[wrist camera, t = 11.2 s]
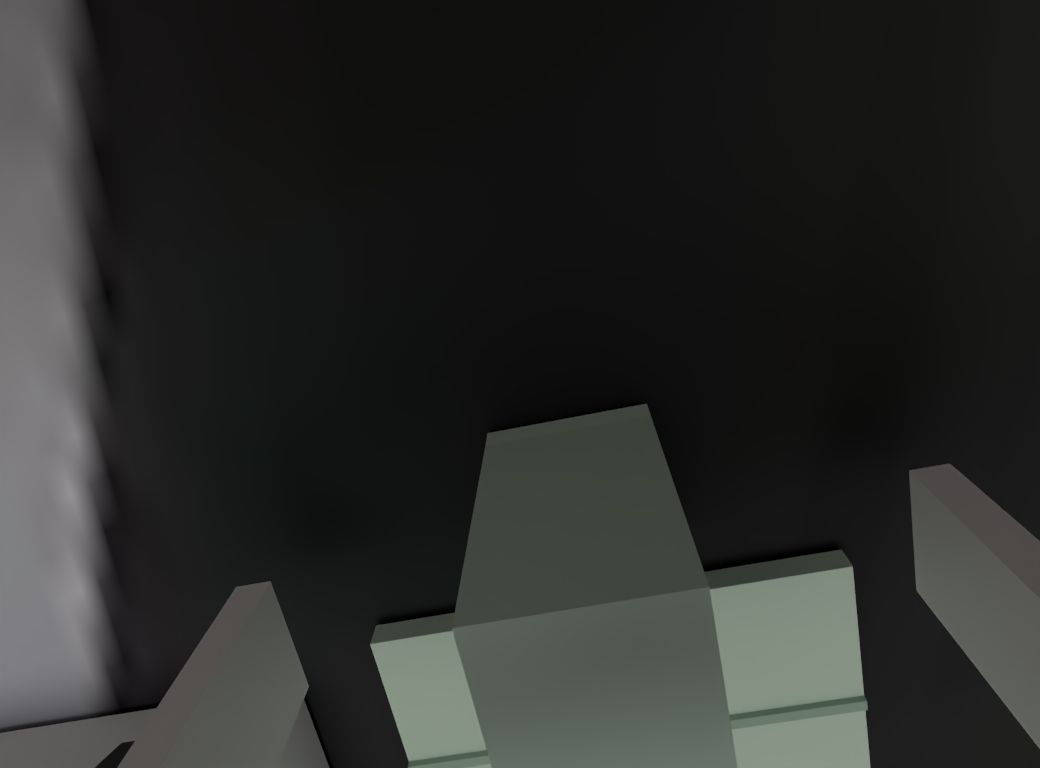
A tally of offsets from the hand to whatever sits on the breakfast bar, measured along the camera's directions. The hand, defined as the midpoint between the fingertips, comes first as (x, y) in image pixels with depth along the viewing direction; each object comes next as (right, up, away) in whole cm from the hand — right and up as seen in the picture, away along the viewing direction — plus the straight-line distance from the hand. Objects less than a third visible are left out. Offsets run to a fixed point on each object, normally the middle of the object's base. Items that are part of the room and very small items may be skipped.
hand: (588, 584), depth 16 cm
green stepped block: (+2, -5, +6) cm, 8 cm away
